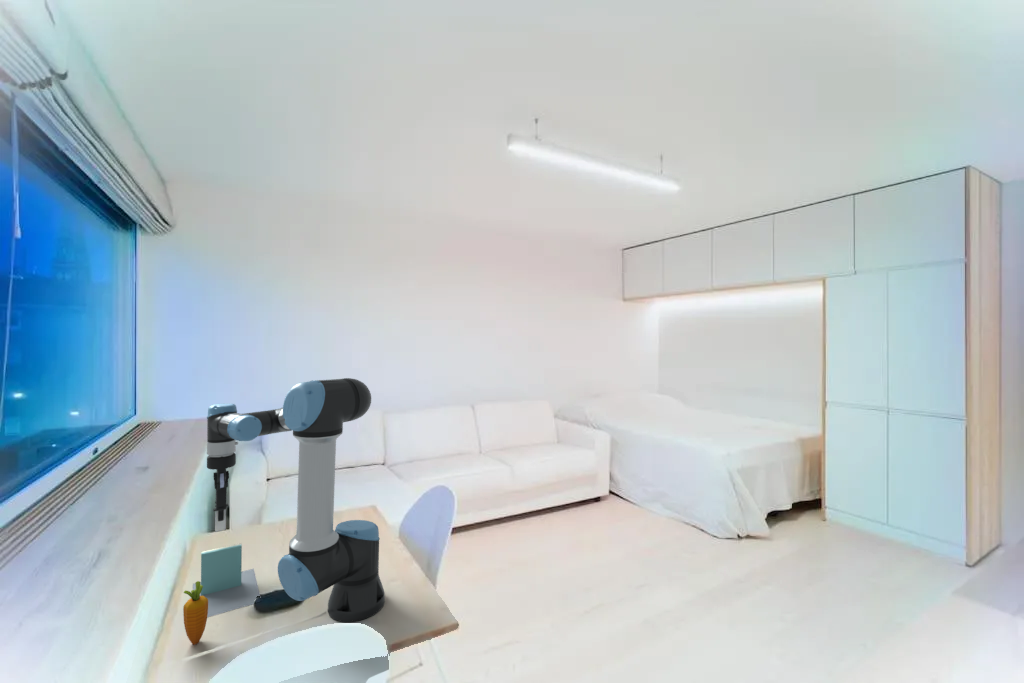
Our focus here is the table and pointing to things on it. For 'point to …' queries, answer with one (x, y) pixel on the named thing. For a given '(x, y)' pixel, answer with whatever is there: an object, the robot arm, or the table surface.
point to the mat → (233, 595)
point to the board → (221, 568)
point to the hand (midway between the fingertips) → (220, 529)
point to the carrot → (195, 614)
